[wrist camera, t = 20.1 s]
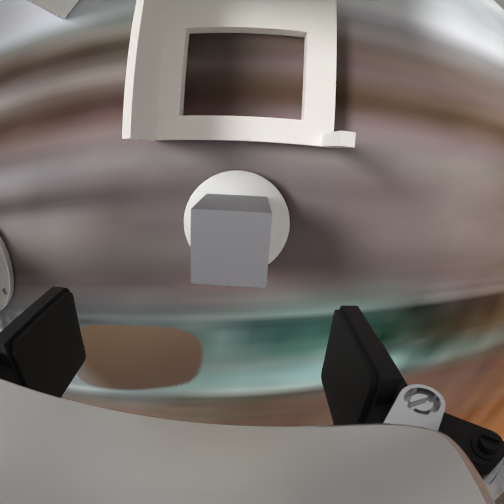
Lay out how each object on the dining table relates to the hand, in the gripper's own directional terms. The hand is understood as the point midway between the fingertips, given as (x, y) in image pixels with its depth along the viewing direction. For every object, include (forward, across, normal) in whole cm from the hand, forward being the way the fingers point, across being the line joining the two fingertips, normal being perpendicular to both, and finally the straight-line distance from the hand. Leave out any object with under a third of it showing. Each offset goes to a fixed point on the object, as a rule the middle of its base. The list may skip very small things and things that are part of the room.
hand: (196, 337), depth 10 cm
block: (+17, -1, 0) cm, 17 cm away
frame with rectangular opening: (+18, -1, -19) cm, 26 cm away
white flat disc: (+18, -1, 0) cm, 18 cm away
